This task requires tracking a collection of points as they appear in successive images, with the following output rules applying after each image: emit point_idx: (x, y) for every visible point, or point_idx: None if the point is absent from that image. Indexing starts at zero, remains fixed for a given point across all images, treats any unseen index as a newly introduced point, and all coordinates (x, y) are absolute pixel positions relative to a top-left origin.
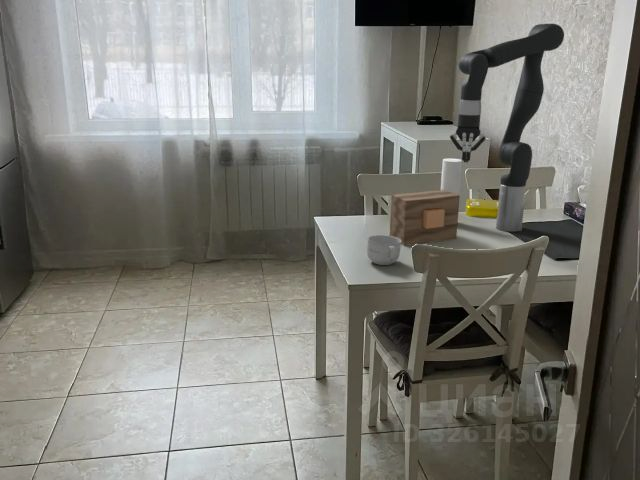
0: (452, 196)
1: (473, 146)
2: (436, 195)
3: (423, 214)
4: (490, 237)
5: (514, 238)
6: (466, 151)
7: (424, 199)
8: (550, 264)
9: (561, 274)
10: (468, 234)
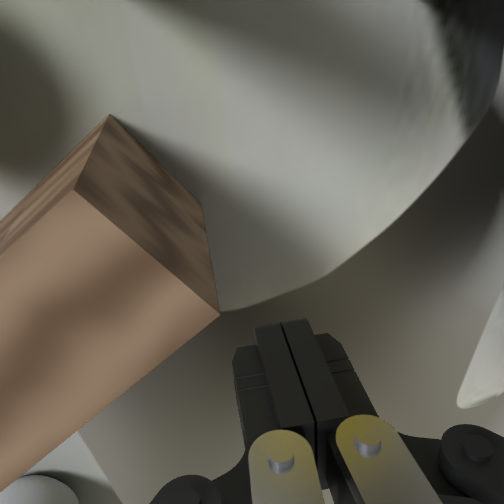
0: (180, 346)
1: (470, 496)
2: (78, 364)
3: None
4: (341, 129)
5: (440, 106)
6: (313, 439)
7: (43, 456)
8: (491, 338)
9: (495, 392)
10: (244, 118)
